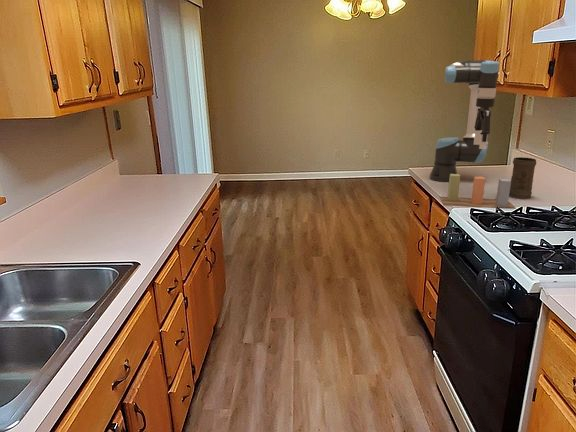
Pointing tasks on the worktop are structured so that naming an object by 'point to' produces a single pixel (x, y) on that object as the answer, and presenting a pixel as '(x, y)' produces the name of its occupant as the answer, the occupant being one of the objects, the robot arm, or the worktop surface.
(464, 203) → the walnut board
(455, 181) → the olive pillar
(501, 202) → the slate pillar
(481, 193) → the terracotta pillar
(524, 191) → the beer stein
